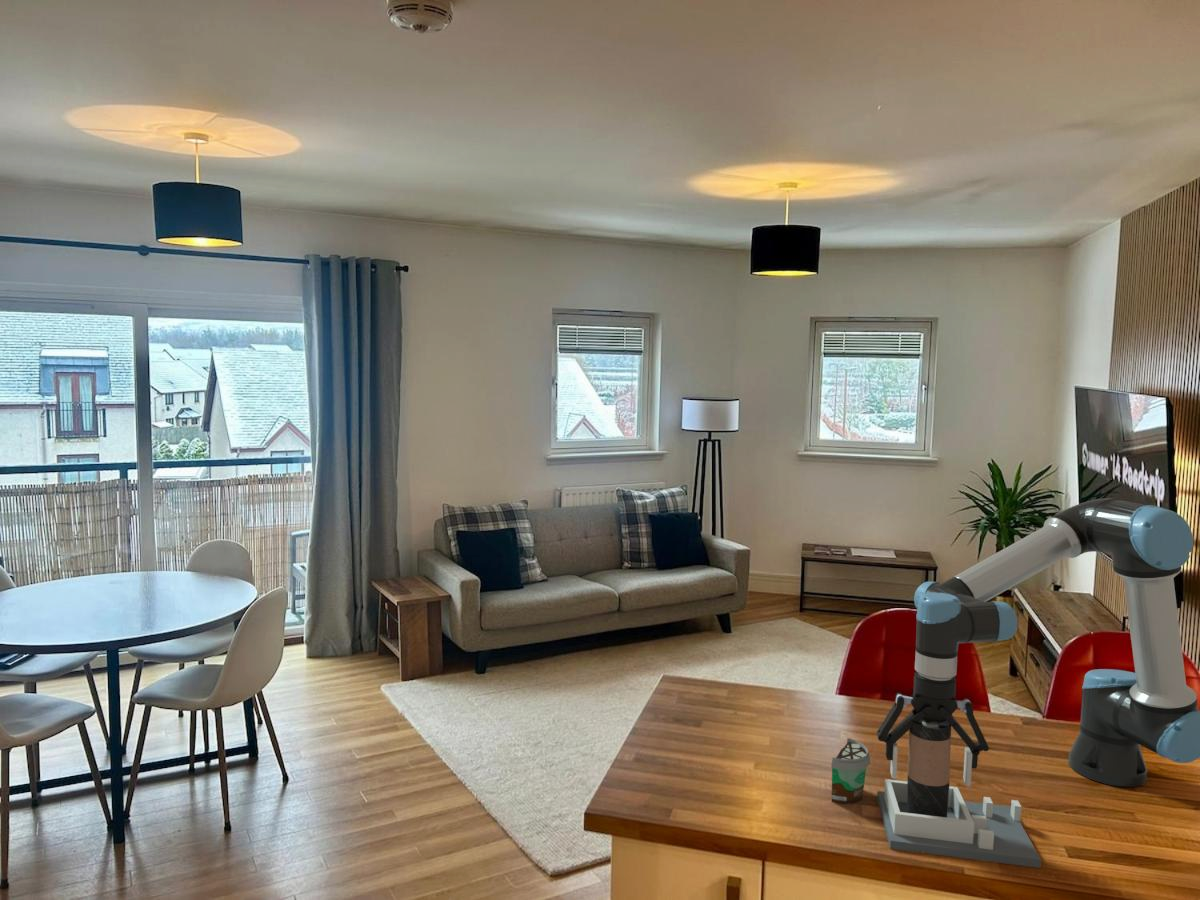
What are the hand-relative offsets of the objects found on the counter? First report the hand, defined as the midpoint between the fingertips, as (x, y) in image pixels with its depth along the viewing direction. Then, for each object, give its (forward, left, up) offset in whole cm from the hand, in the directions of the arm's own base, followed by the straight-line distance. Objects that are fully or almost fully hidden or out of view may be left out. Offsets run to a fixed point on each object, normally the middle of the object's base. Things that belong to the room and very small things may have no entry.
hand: (929, 779), depth 162 cm
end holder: (0, 0, -8) cm, 8 cm away
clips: (-13, +1, -8) cm, 15 cm away
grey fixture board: (-5, 0, -10) cm, 11 cm away
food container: (+13, -9, -10) cm, 19 cm away
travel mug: (0, 0, -8) cm, 8 cm away
